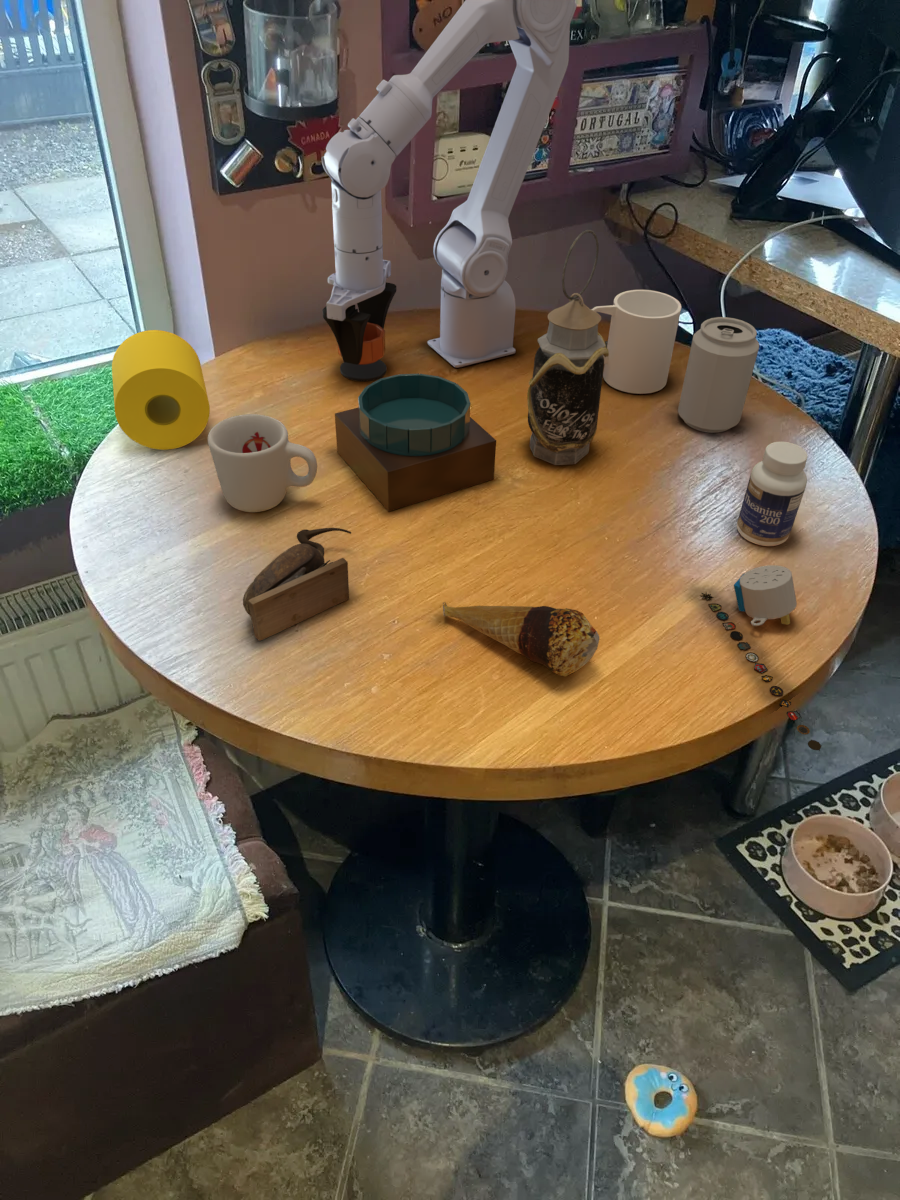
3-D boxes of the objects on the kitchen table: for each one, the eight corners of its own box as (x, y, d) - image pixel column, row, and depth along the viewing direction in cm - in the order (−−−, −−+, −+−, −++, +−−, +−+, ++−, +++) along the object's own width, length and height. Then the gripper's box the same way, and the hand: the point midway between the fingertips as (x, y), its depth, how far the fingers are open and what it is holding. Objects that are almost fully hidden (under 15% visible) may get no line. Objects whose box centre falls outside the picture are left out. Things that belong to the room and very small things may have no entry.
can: (744, 413, 116) (768, 321, 108) (731, 442, 111) (755, 347, 103) (684, 399, 118) (704, 308, 110) (669, 427, 113) (688, 333, 105)
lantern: (568, 478, 104) (597, 254, 88) (507, 453, 108) (524, 233, 91) (607, 445, 109) (641, 228, 93) (548, 422, 113) (571, 209, 96)
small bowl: (371, 341, 123) (371, 318, 121) (393, 360, 119) (392, 337, 117) (331, 350, 121) (330, 327, 119) (351, 370, 117) (350, 346, 115)
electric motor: (730, 638, 87) (782, 644, 84) (721, 593, 85) (774, 598, 82) (761, 600, 92) (812, 605, 88) (753, 557, 90) (805, 560, 86)
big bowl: (435, 390, 108) (435, 364, 106) (488, 439, 100) (490, 412, 98) (341, 414, 103) (340, 388, 101) (390, 467, 96) (389, 440, 94)
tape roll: (94, 415, 101) (93, 374, 108) (170, 465, 108) (164, 423, 114) (155, 350, 99) (149, 312, 105) (228, 405, 105) (218, 366, 112)
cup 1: (327, 482, 102) (322, 418, 97) (311, 526, 96) (305, 460, 91) (229, 474, 103) (219, 410, 98) (208, 517, 97) (196, 451, 92)
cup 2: (566, 367, 123) (575, 293, 116) (652, 360, 125) (666, 287, 118) (586, 398, 117) (597, 322, 110) (676, 390, 119) (692, 315, 113)
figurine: (386, 581, 90) (336, 537, 95) (385, 544, 87) (334, 500, 92) (258, 642, 83) (211, 590, 88) (252, 604, 80) (204, 553, 85)
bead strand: (710, 592, 90) (697, 594, 90) (710, 591, 90) (698, 593, 90) (825, 750, 76) (811, 753, 75) (826, 749, 76) (811, 752, 75)
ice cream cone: (418, 626, 83) (574, 673, 76) (441, 566, 84) (597, 607, 77) (445, 646, 88) (593, 691, 81) (467, 589, 89) (614, 629, 82)
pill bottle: (725, 531, 97) (747, 451, 91) (752, 510, 100) (775, 431, 94) (772, 555, 95) (798, 474, 88) (798, 532, 98) (825, 452, 91)
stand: (436, 424, 112) (437, 386, 109) (494, 479, 104) (496, 440, 100) (336, 451, 107) (334, 413, 104) (388, 511, 99) (387, 471, 95)
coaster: (374, 355, 125) (373, 352, 124) (394, 375, 121) (394, 372, 121) (332, 365, 122) (332, 362, 122) (352, 385, 118) (352, 382, 118)
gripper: (353, 219, 117) (357, 322, 126) (299, 261, 107) (308, 370, 116) (405, 228, 115) (406, 331, 124) (356, 271, 105) (360, 381, 114)
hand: (362, 351), depth 120 cm, fingers closed on small bowl, 6 cm apart
